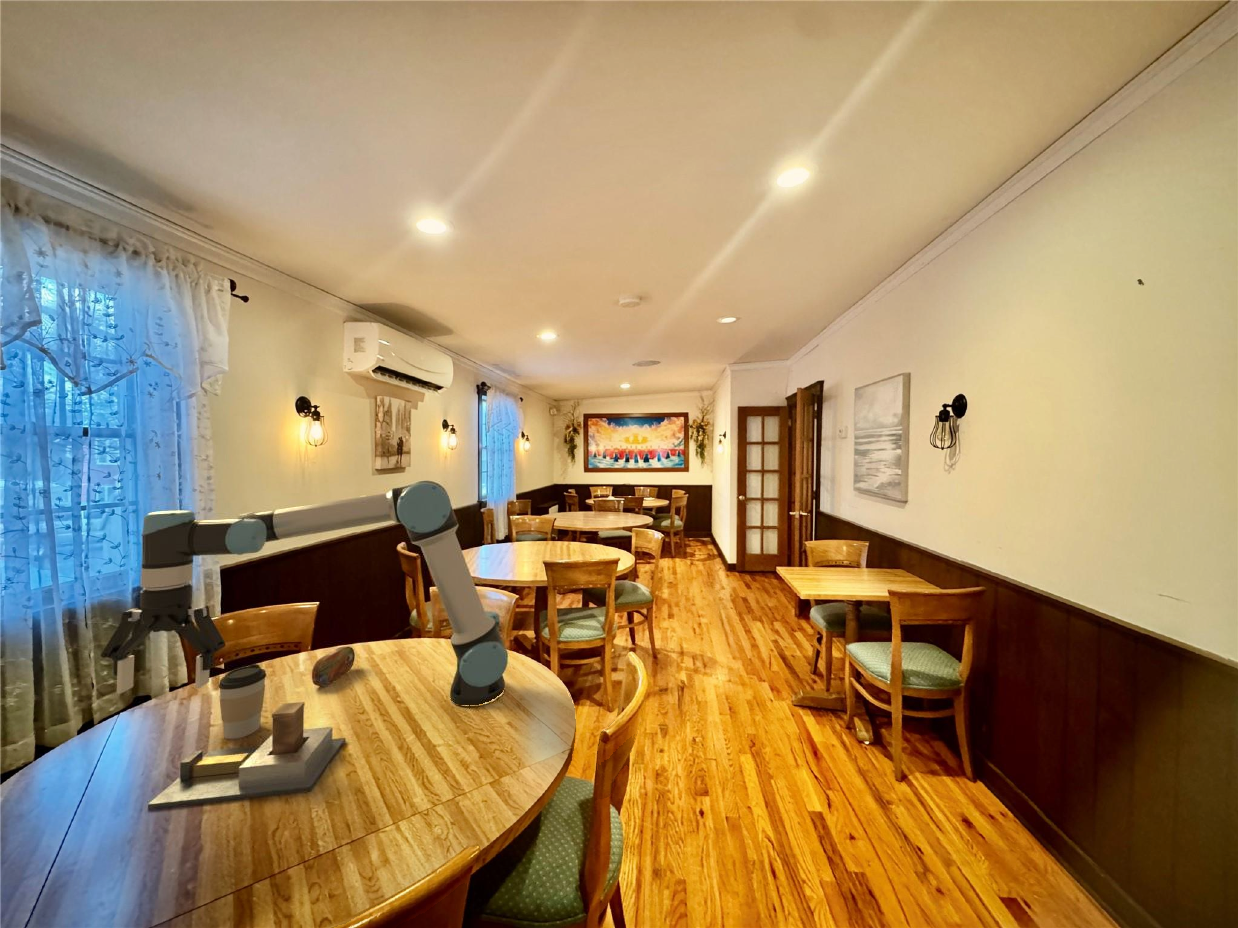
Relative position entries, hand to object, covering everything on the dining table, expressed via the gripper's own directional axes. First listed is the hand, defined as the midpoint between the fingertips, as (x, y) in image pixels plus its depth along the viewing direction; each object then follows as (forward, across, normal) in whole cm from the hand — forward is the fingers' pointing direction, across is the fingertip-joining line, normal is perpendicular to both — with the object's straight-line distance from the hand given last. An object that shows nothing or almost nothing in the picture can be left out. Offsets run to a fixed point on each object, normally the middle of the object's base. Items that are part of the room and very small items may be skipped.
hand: (164, 687), depth 90 cm
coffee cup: (+20, -5, -17) cm, 26 cm away
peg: (+18, -23, 0) cm, 30 cm away
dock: (+19, -18, 0) cm, 26 cm away
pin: (+18, -10, 0) cm, 21 cm away
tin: (+20, -15, -42) cm, 49 cm away
